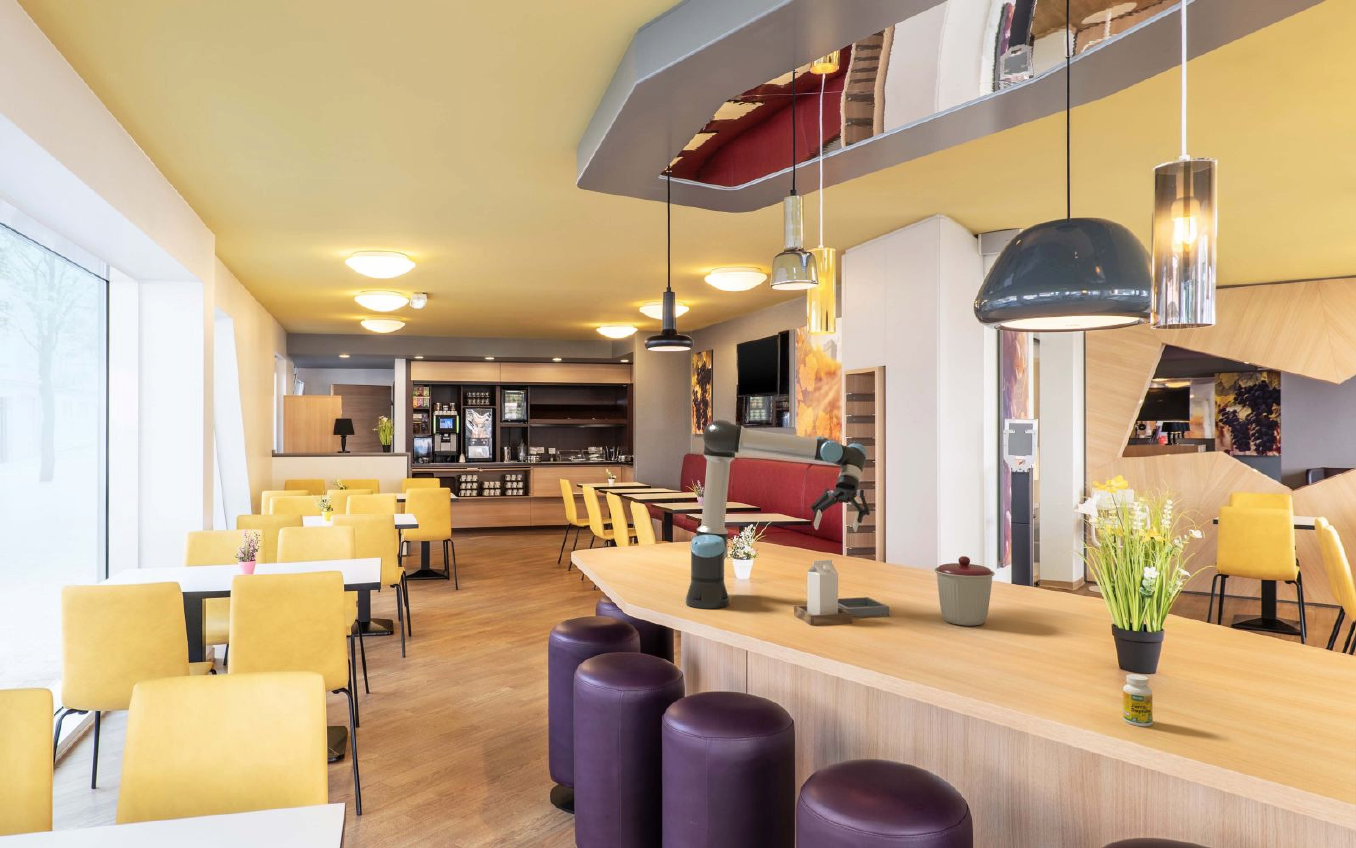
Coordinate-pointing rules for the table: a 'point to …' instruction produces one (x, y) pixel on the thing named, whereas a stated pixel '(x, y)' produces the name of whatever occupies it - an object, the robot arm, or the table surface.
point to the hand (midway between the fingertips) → (834, 528)
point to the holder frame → (823, 616)
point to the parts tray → (863, 607)
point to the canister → (964, 592)
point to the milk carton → (822, 588)
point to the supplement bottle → (1137, 701)
